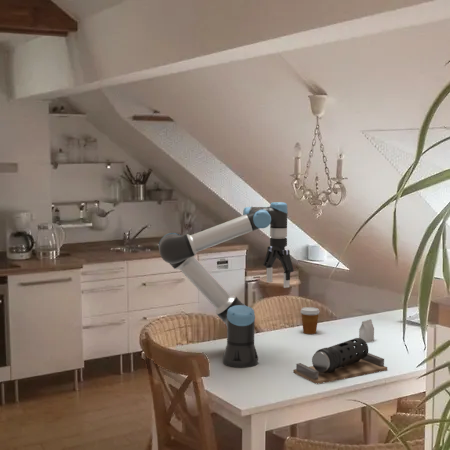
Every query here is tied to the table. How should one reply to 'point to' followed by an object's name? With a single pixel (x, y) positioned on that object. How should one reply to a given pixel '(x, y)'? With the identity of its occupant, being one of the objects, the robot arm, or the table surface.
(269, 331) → the table surface
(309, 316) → the disposable coffee cup
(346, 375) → the mounting board
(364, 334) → the grey paper bag
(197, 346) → the table surface
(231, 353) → the robot arm
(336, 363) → the muzzle brake
